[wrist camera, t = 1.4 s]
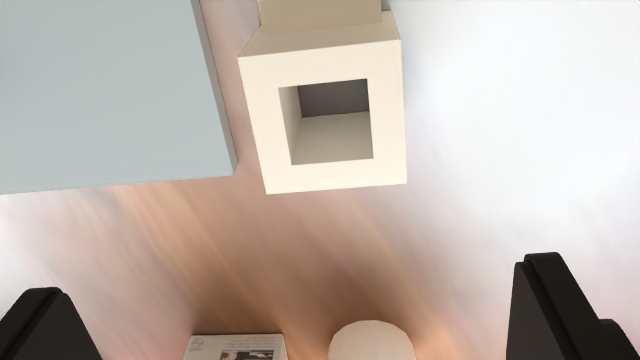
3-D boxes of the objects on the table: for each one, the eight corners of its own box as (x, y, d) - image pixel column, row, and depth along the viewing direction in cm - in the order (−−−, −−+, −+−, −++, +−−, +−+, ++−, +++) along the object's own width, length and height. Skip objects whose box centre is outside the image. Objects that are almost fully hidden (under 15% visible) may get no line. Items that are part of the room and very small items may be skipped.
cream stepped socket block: (397, 132, 25) (407, 183, 20) (281, 143, 25) (266, 194, 21) (383, -130, 19) (393, -137, 15) (234, -108, 20) (201, -108, 15)
